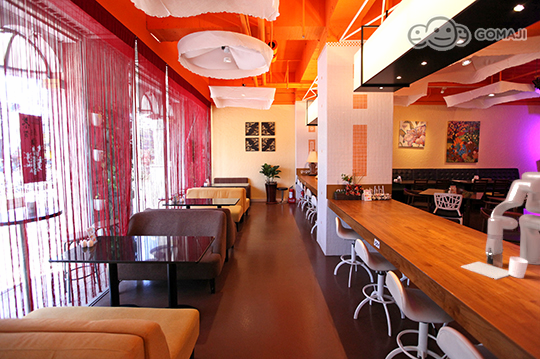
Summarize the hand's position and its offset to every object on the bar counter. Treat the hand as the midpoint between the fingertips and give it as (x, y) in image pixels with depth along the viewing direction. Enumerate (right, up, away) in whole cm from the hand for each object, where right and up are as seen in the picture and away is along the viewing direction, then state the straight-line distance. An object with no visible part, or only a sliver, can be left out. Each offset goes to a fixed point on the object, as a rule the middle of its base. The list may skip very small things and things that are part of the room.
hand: (494, 262), depth 174 cm
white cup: (-1, -3, -16) cm, 16 cm away
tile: (0, -2, 0) cm, 2 cm away
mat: (-11, -2, -7) cm, 13 cm away
